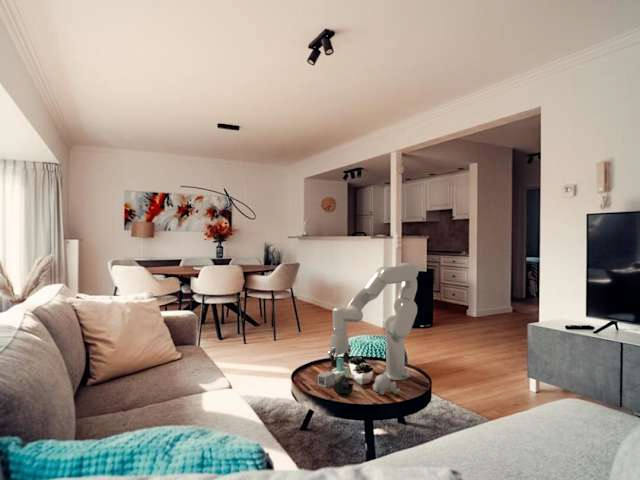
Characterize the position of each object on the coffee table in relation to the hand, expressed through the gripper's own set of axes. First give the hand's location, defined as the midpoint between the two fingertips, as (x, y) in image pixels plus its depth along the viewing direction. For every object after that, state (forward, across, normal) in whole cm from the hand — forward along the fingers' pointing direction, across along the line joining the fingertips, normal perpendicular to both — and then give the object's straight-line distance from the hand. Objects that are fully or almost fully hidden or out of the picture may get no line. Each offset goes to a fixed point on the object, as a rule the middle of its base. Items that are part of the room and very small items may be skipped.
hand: (340, 364), depth 201 cm
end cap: (+8, +13, +13) cm, 20 cm away
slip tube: (+6, +5, 0) cm, 8 cm away
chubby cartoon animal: (+8, 0, +28) cm, 29 cm away
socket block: (+7, 0, 0) cm, 7 cm away
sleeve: (+7, +11, 0) cm, 13 cm away
